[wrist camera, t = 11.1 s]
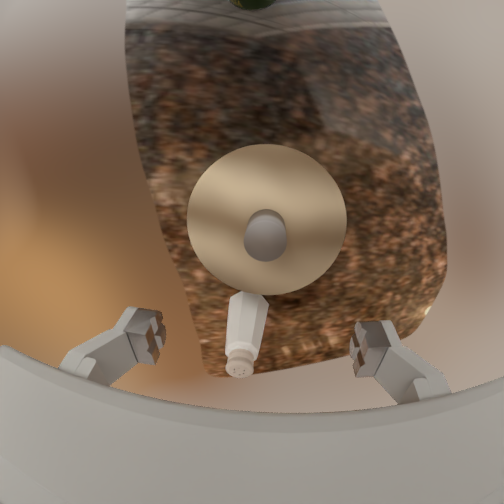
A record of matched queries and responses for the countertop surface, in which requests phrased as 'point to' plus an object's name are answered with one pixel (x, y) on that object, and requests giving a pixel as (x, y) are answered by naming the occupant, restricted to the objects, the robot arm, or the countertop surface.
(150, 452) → the robot arm
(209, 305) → the countertop surface
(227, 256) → the lid
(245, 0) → the beer can
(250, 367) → the pepper shaker
